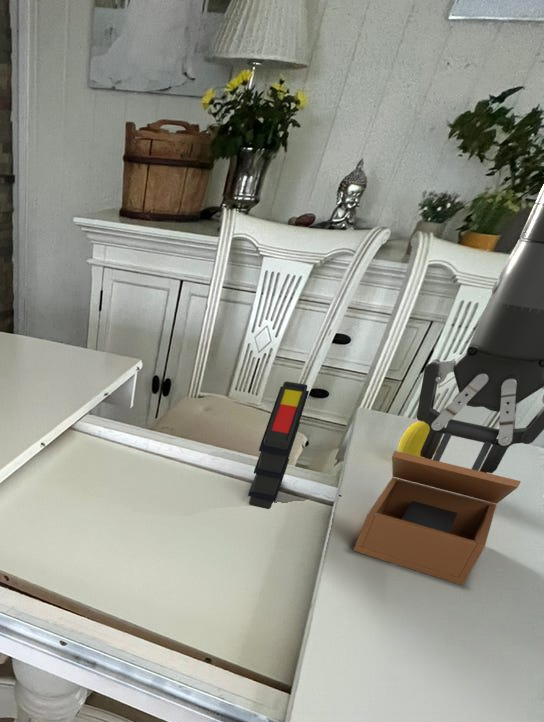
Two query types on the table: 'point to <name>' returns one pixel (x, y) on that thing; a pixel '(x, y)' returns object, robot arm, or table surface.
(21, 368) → the table surface
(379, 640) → the table surface
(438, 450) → the case cover
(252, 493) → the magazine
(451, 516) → the dark grey block
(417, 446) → the lemon
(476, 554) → the brown case base
